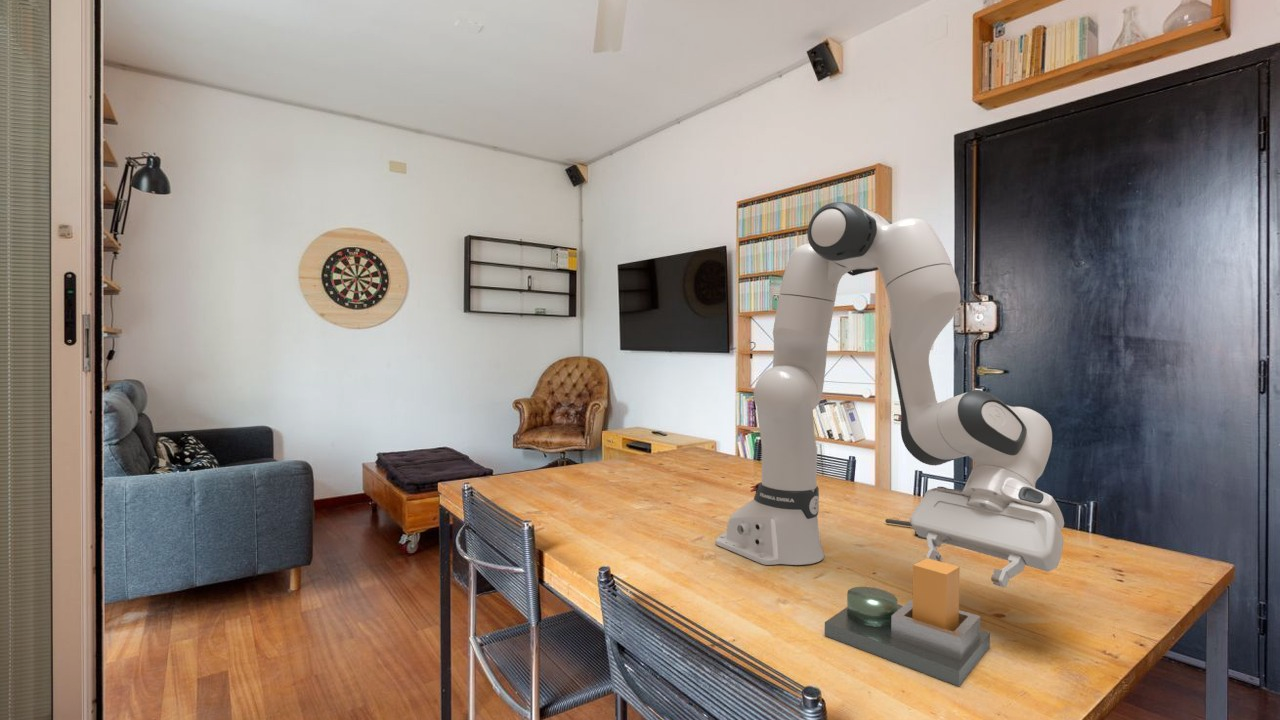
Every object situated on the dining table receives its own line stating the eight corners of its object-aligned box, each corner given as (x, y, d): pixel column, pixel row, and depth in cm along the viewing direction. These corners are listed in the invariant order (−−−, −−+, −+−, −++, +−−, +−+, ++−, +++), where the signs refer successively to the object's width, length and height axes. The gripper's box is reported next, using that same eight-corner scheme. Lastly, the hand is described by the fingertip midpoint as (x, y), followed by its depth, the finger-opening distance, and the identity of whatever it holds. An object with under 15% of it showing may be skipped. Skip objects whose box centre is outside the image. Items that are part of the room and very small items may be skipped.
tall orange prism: (912, 636, 81) (913, 565, 81) (925, 626, 84) (927, 558, 84) (945, 648, 78) (946, 574, 77) (958, 638, 80) (959, 566, 80)
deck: (824, 635, 85) (824, 601, 85) (865, 606, 95) (865, 576, 95) (958, 686, 72) (959, 646, 72) (989, 646, 82) (990, 611, 82)
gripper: (923, 473, 97) (889, 541, 92) (1065, 499, 81) (1034, 584, 75) (936, 496, 100) (904, 563, 95) (1077, 525, 83) (1048, 610, 78)
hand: (963, 573), depth 85 cm, fingers open, 8 cm apart
